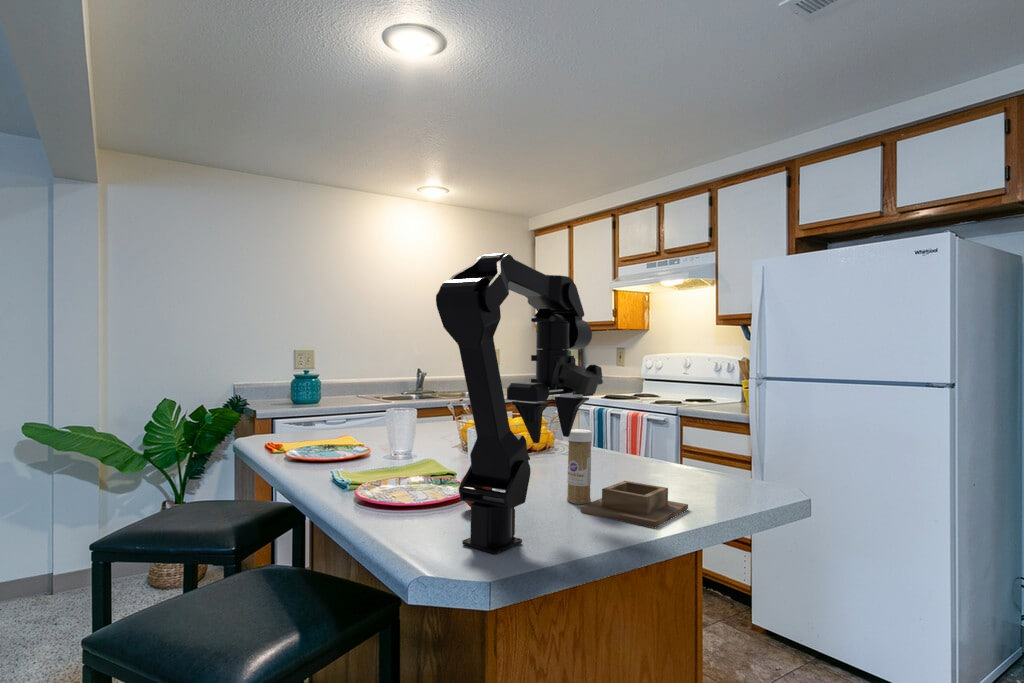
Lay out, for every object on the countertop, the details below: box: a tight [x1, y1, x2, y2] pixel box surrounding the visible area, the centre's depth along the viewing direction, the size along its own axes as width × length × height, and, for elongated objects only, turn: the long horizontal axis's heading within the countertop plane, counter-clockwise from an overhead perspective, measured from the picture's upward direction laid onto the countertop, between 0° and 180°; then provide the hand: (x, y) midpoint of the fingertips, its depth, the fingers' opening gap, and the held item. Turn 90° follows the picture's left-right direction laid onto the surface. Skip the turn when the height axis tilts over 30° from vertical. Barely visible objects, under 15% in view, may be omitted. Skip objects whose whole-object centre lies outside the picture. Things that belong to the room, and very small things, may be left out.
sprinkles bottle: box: [566, 428, 593, 505], centre depth 110 cm, size 5×5×14 cm
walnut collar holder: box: [580, 480, 689, 529], centre depth 105 cm, size 14×14×4 cm
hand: (551, 439), depth 101 cm, fingers open, 9 cm apart
